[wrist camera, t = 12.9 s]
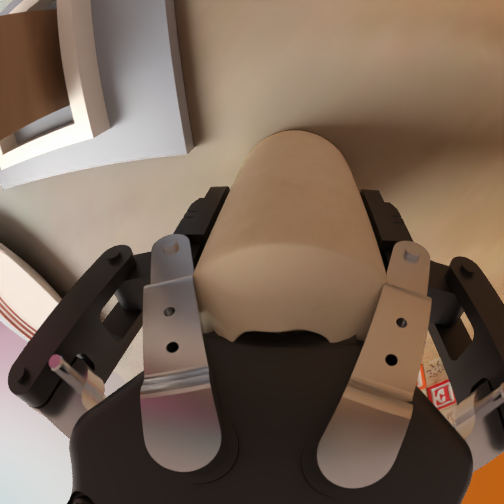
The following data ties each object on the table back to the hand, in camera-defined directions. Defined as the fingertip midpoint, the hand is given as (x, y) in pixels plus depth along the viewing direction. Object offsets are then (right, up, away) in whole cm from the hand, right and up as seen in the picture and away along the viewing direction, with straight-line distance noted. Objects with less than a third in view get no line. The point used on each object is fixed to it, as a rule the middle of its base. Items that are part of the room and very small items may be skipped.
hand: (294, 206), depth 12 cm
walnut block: (-14, +8, -2) cm, 17 cm away
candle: (0, +2, +2) cm, 3 cm away
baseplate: (-14, +9, -2) cm, 17 cm away
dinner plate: (-32, -8, +17) cm, 37 cm away
